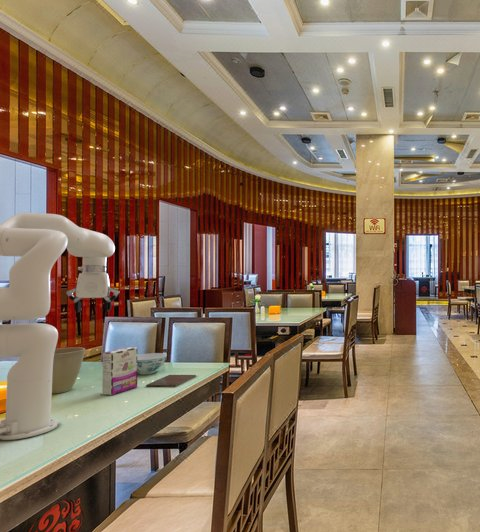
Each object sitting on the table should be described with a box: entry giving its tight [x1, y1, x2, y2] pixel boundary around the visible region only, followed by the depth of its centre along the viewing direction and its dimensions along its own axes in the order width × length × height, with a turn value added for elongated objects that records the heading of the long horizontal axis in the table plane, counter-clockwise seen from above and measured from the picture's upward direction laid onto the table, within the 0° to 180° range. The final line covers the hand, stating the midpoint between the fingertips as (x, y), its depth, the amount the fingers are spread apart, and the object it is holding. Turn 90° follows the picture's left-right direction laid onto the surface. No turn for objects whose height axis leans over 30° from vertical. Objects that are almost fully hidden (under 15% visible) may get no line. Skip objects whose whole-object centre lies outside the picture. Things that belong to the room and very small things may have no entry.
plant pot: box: [52, 347, 86, 395], centre depth 147 cm, size 15×15×16 cm
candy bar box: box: [101, 346, 138, 396], centre depth 148 cm, size 11×5×16 cm, turn 168°
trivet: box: [145, 374, 197, 388], centre depth 162 cm, size 16×12×1 cm
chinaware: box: [137, 352, 168, 376], centre depth 176 cm, size 15×15×8 cm
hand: (92, 311), depth 152 cm, fingers open, 9 cm apart
